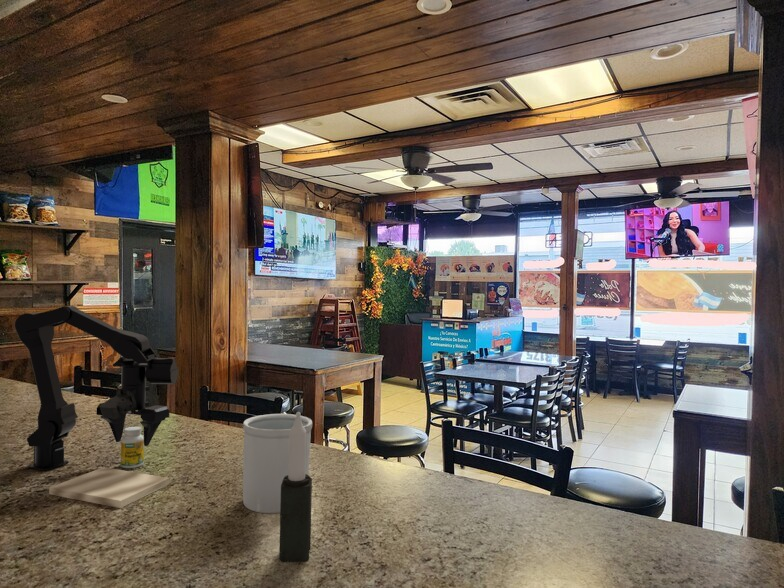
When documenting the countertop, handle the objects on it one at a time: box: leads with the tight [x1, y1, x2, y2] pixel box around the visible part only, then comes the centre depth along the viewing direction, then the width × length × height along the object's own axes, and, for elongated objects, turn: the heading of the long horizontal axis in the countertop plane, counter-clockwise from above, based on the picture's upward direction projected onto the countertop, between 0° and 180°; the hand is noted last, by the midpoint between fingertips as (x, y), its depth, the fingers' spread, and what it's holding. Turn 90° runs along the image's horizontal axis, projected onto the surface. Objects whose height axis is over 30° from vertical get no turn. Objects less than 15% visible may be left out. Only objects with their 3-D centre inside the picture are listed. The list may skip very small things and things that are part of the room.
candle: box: [278, 411, 313, 563], centre depth 88 cm, size 5×5×25 cm
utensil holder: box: [242, 413, 313, 514], centre depth 111 cm, size 15×15×18 cm
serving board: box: [48, 466, 170, 509], centre depth 115 cm, size 20×14×2 cm
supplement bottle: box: [120, 426, 145, 469], centre depth 131 cm, size 5×5×10 cm
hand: (132, 443), depth 131 cm, fingers open, 9 cm apart
